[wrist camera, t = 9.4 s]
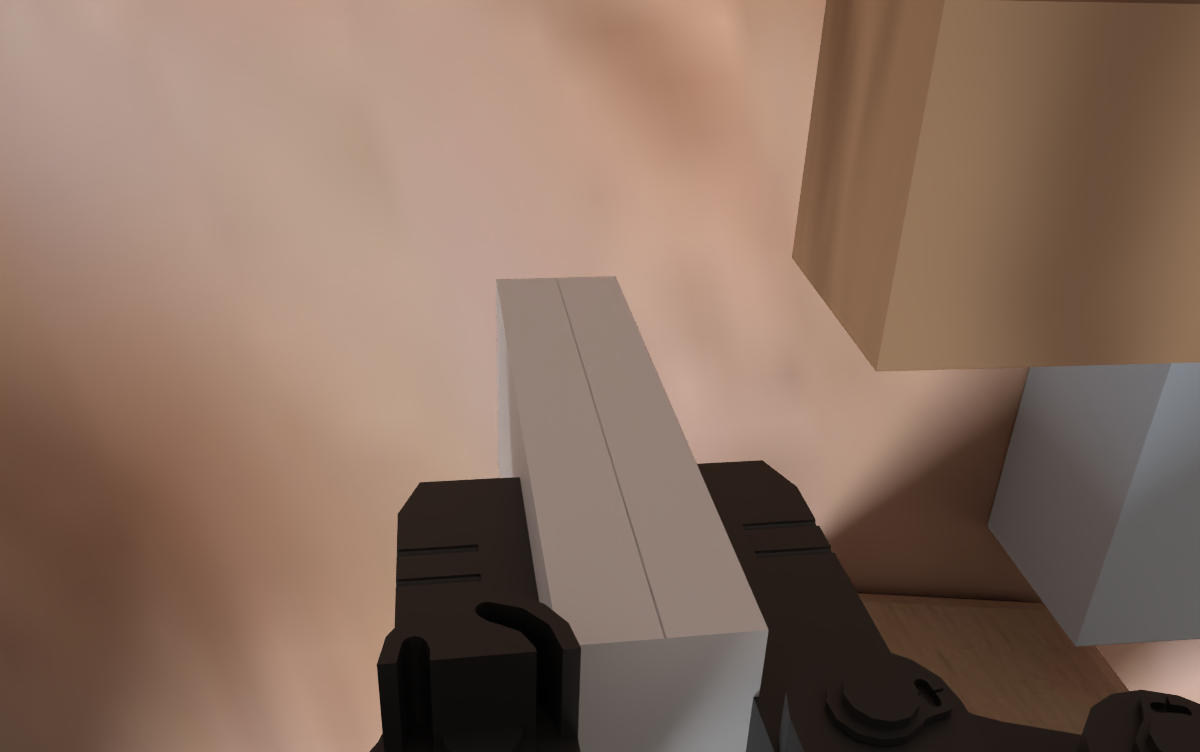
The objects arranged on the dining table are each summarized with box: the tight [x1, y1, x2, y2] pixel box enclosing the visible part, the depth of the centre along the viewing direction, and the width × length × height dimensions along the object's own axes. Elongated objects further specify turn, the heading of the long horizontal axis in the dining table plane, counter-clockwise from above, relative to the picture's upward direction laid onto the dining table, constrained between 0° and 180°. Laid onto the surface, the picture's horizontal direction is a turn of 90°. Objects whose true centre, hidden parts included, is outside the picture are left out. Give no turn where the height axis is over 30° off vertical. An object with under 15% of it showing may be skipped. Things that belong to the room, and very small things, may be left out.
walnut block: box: [792, 0, 1200, 371], centre depth 22 cm, size 7×7×6 cm
